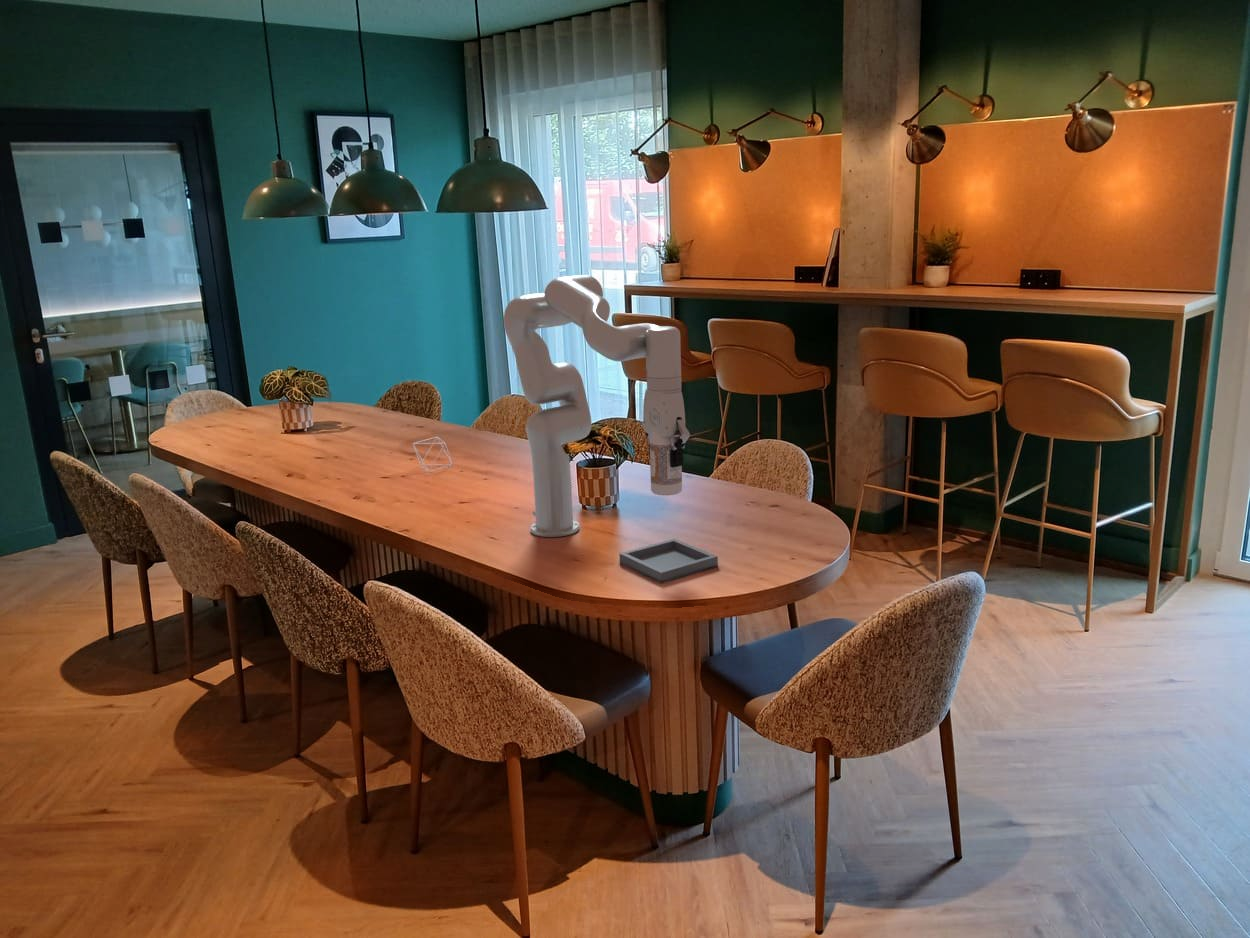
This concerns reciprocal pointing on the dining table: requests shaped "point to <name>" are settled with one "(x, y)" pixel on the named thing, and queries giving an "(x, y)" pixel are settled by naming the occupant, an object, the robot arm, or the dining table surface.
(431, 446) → the geometric polyhedron
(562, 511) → the robot arm
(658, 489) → the bath foam
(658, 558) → the blue-gray tray
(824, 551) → the dining table surface
